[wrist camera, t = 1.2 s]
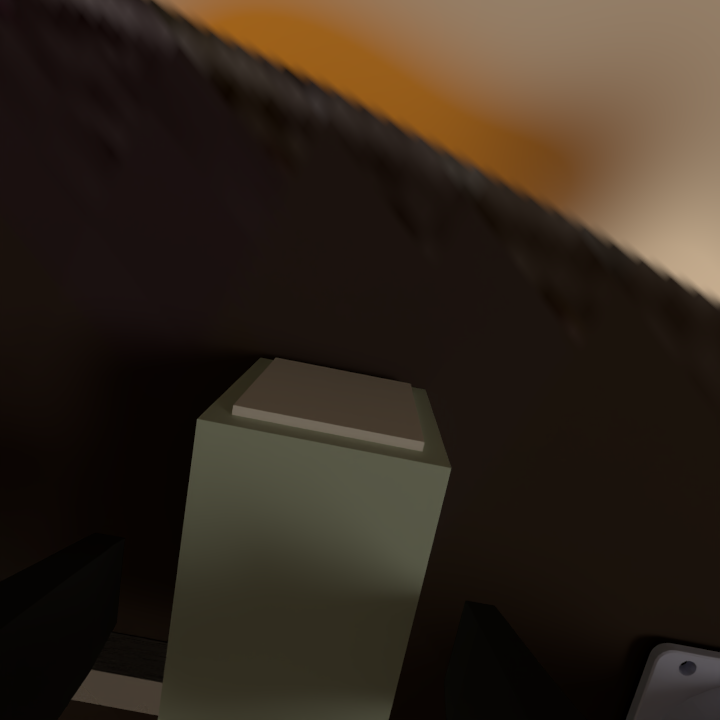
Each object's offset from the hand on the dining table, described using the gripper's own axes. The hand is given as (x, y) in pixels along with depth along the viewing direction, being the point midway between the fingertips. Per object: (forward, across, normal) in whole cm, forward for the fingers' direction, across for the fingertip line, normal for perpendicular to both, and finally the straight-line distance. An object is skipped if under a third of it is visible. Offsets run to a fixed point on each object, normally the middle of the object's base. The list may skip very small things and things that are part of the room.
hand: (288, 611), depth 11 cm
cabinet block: (+5, 0, 0) cm, 5 cm away
